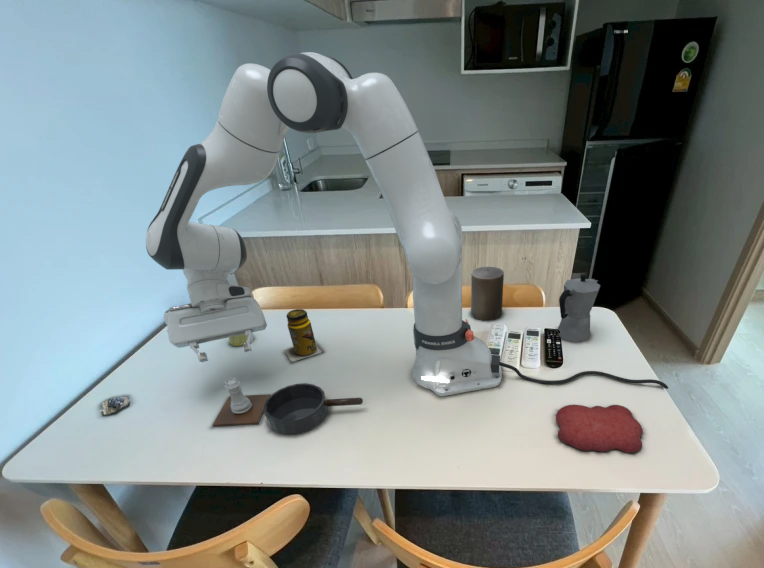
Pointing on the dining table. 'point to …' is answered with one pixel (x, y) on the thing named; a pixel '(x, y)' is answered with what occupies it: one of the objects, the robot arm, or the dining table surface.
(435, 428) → the dining table surface
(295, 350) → the condiment
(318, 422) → the pan
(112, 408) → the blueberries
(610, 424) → the patty
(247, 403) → the rook chess piece
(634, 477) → the dining table surface
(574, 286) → the coffeepot
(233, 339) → the vase
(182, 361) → the dining table surface
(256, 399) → the plate
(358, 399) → the pan handle
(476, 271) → the pillar candle
